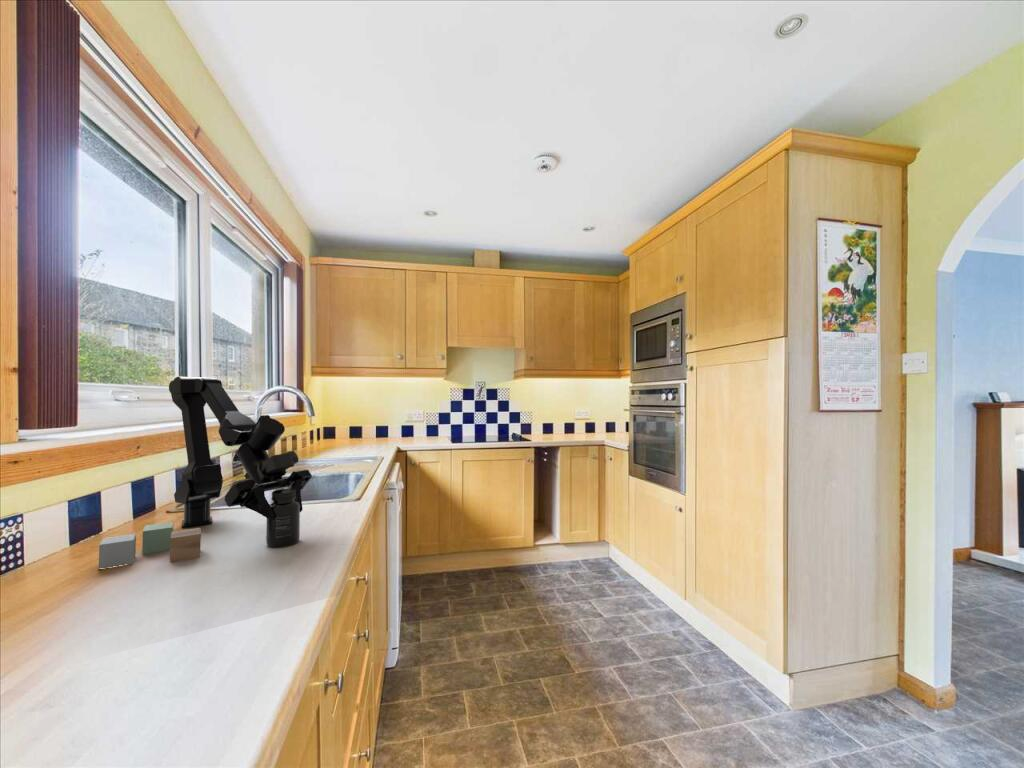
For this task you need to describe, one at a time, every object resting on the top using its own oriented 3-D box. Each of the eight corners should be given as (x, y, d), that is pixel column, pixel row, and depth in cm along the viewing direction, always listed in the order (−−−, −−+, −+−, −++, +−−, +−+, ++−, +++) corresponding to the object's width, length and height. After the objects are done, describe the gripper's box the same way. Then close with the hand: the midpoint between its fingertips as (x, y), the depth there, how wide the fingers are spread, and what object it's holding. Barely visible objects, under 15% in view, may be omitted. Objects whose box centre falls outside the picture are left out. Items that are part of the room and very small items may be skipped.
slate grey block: (102, 562, 88) (103, 537, 88) (135, 557, 91) (136, 533, 91) (98, 570, 84) (99, 544, 84) (132, 565, 87) (133, 539, 87)
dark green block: (144, 548, 96) (145, 525, 96) (172, 543, 99) (173, 521, 99) (142, 554, 92) (142, 531, 92) (171, 550, 95) (172, 527, 95)
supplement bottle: (305, 538, 102) (306, 488, 103) (287, 548, 96) (288, 494, 96) (278, 537, 103) (279, 487, 103) (259, 547, 96) (260, 493, 97)
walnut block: (171, 555, 92) (171, 531, 92) (200, 550, 95) (200, 527, 95) (169, 563, 88) (170, 538, 88) (200, 557, 91) (200, 533, 91)
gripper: (233, 445, 93) (265, 501, 88) (307, 437, 110) (338, 485, 105) (211, 478, 96) (241, 535, 91) (286, 466, 113) (315, 513, 108)
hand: (287, 515), depth 99 cm, fingers closed on supplement bottle, 7 cm apart
